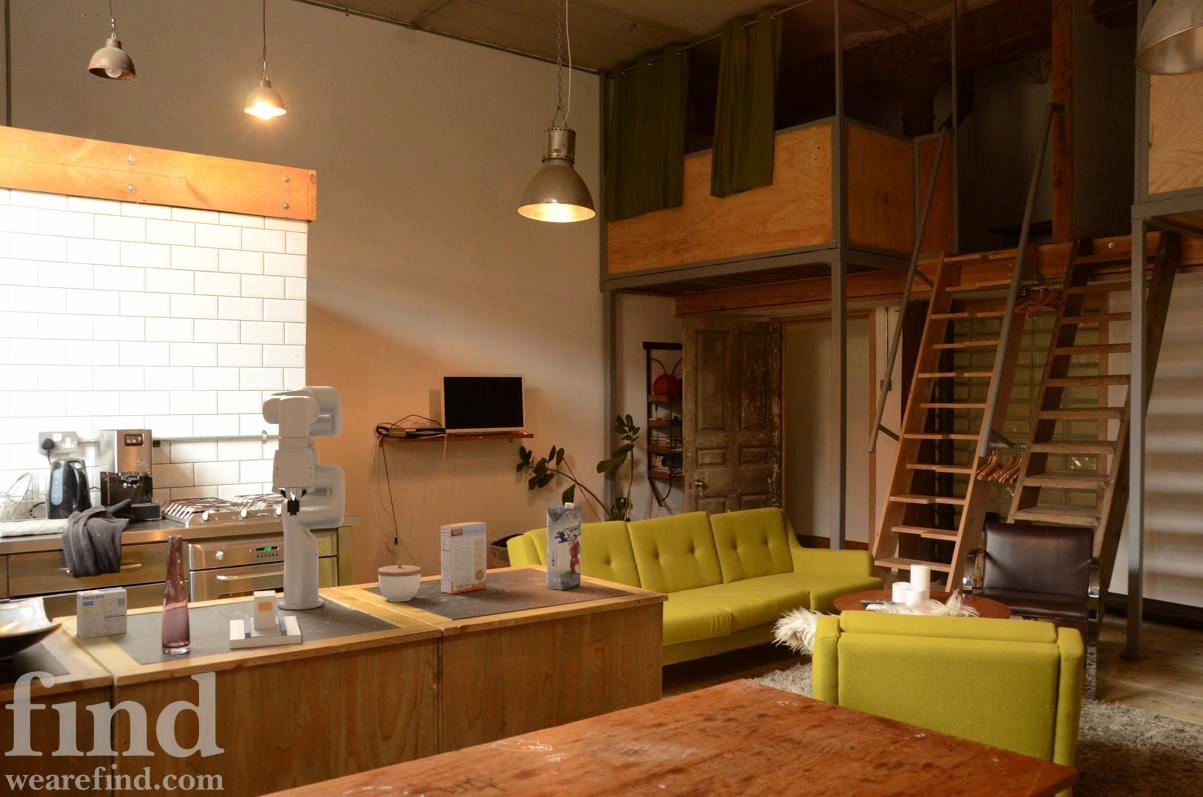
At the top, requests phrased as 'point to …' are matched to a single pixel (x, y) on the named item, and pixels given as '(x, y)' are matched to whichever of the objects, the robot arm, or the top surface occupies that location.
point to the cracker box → (463, 557)
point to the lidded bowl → (399, 581)
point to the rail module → (264, 609)
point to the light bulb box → (101, 612)
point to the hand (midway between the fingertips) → (293, 515)
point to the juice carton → (563, 547)
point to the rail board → (264, 632)
